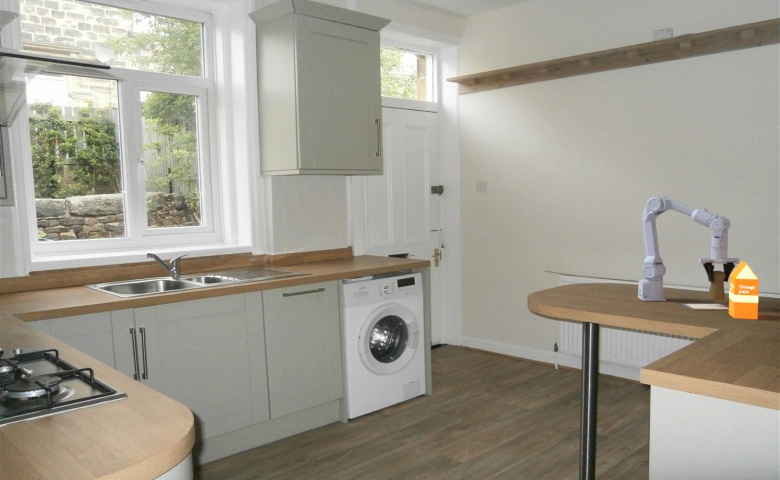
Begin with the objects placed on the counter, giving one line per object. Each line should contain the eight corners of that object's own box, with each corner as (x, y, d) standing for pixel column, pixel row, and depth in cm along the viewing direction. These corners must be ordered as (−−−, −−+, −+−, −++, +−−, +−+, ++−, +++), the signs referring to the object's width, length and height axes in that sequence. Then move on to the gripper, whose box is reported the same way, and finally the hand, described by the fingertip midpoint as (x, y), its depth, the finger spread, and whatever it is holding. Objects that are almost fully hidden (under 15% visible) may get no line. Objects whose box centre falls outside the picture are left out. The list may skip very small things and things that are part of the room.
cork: (726, 300, 231) (729, 273, 230) (709, 299, 233) (712, 272, 231) (722, 296, 237) (724, 270, 235) (705, 295, 239) (708, 269, 237)
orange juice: (751, 314, 221) (753, 261, 219) (757, 319, 213) (759, 264, 211) (728, 313, 224) (729, 260, 222) (733, 318, 215) (735, 263, 214)
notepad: (692, 310, 230) (693, 308, 230) (682, 304, 241) (682, 303, 241) (733, 310, 228) (733, 309, 228) (720, 304, 239) (720, 303, 239)
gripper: (704, 248, 229) (703, 283, 230) (743, 248, 228) (742, 283, 229) (696, 246, 236) (695, 280, 237) (734, 246, 235) (733, 280, 236)
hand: (718, 281), depth 233 cm, fingers closed on cork, 5 cm apart
